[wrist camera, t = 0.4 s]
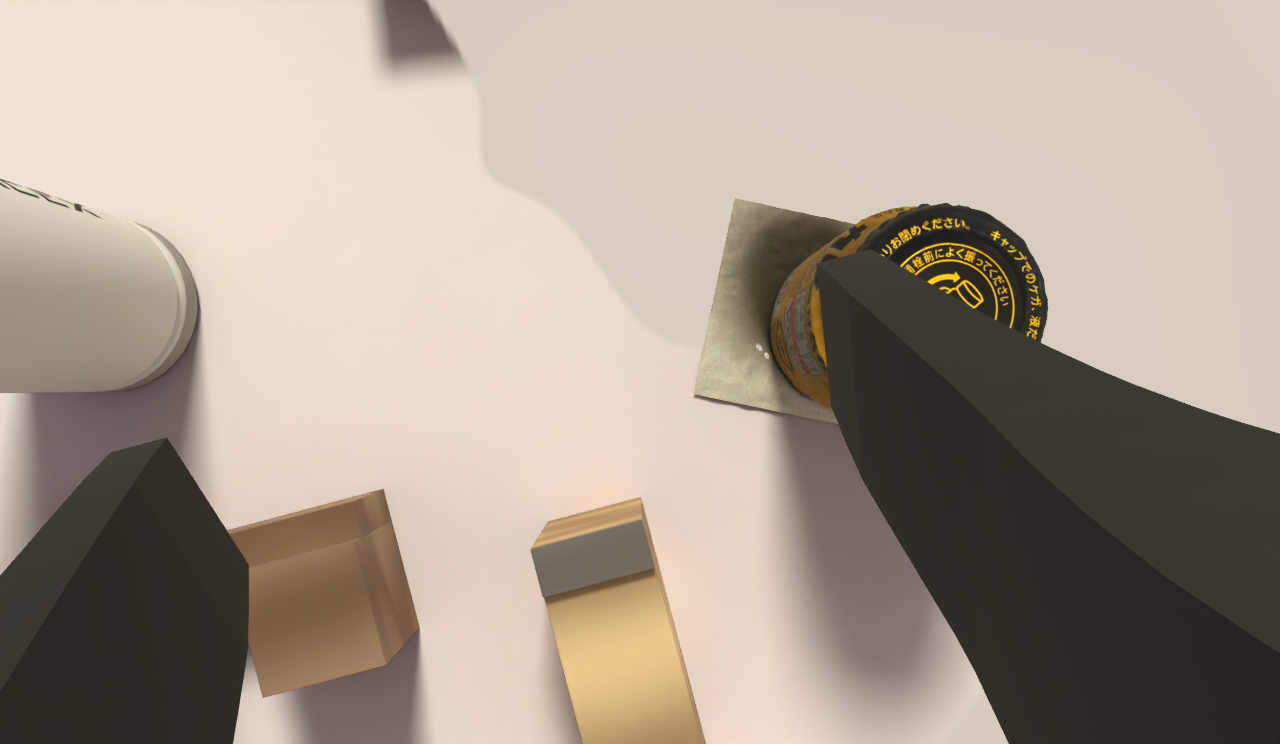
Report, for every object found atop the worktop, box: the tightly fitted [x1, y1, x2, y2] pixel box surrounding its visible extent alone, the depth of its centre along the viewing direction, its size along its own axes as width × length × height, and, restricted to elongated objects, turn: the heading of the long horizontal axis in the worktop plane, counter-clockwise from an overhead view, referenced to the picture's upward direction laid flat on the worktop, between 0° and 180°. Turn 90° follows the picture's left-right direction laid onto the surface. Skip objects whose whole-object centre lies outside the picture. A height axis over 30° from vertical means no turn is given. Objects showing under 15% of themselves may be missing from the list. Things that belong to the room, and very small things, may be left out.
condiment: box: [694, 199, 1048, 425], centre depth 31 cm, size 7×8×12 cm
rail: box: [531, 497, 706, 744], centre depth 34 cm, size 15×4×6 cm, turn 15°
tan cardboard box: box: [227, 489, 419, 698], centre depth 35 cm, size 5×14×5 cm, turn 105°
